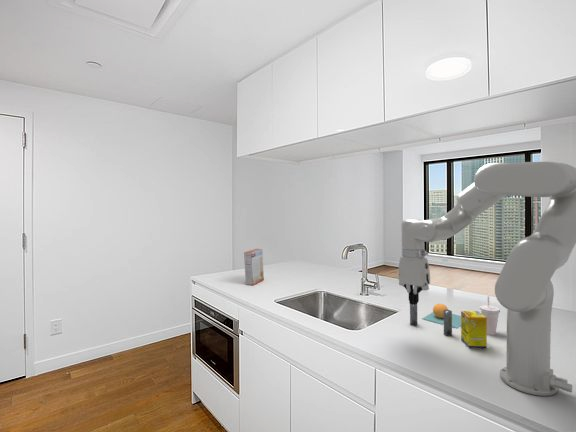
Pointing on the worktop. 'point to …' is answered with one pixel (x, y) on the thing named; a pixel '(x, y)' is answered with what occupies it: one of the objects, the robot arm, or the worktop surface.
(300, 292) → the worktop surface
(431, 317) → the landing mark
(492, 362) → the worktop surface
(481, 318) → the supplement box
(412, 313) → the post left
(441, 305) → the ball
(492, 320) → the smoothie
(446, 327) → the post right
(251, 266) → the cracker box
